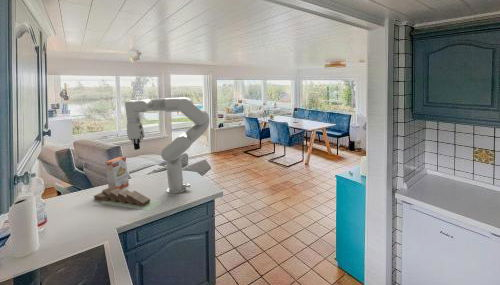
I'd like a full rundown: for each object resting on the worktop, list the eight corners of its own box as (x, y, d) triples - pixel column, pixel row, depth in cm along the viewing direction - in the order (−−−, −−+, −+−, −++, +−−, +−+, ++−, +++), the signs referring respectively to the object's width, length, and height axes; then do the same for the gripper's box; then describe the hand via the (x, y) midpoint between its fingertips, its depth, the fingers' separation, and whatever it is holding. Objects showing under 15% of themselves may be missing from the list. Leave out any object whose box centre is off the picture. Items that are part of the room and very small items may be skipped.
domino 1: (116, 194, 174) (102, 192, 178) (108, 197, 168) (93, 195, 173) (116, 197, 174) (102, 195, 178) (108, 201, 169) (94, 199, 173)
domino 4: (141, 198, 166) (126, 189, 169) (133, 201, 161) (118, 192, 164) (140, 201, 167) (125, 192, 170) (133, 205, 161) (117, 196, 165)
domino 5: (150, 199, 164) (134, 190, 167) (143, 203, 158) (126, 194, 161) (149, 202, 164) (134, 193, 168) (142, 206, 159) (126, 197, 162)
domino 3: (132, 196, 168) (118, 188, 172) (125, 200, 163) (110, 191, 166) (132, 200, 169) (117, 191, 173) (124, 204, 164) (109, 195, 167)
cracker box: (116, 192, 185) (112, 162, 181) (108, 192, 186) (104, 161, 182) (129, 185, 198) (125, 156, 194) (122, 184, 200) (118, 156, 195)
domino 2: (124, 195, 171) (110, 186, 175) (116, 199, 166) (102, 190, 169) (124, 198, 172) (110, 190, 175) (116, 202, 166) (101, 193, 170)
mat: (163, 202, 164) (163, 202, 164) (149, 211, 153) (149, 210, 153) (115, 195, 179) (115, 195, 178) (99, 203, 168) (99, 202, 168)
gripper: (147, 119, 174) (150, 148, 178) (129, 119, 180) (132, 147, 183) (138, 121, 167) (142, 151, 171) (119, 121, 173) (123, 150, 176)
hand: (137, 149), depth 177 cm, fingers closed
